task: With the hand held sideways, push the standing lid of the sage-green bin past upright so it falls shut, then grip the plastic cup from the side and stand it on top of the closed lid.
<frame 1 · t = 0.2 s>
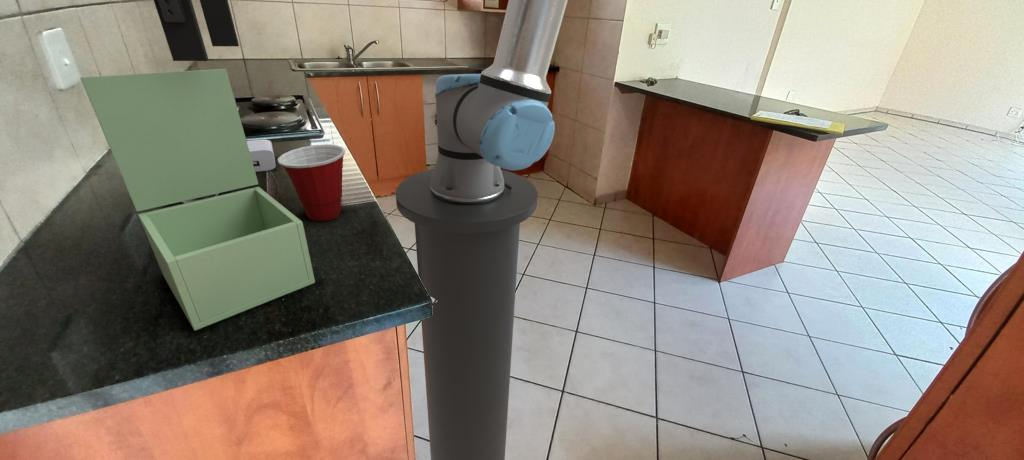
hand: (210, 52, 47), 30 cm above the counter, tool pointing down, fingers open, 13 cm apart
bin lid: (182, 138, 56), point 18 cm above the counter, hinge at 95.0°
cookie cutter: (204, 133, 119), on the counter
ceramic mug: (197, 200, 82), on the counter
bin: (239, 279, 60), on the counter
charger: (253, 162, 101), on the counter
plastic cup: (323, 215, 79), on the counter
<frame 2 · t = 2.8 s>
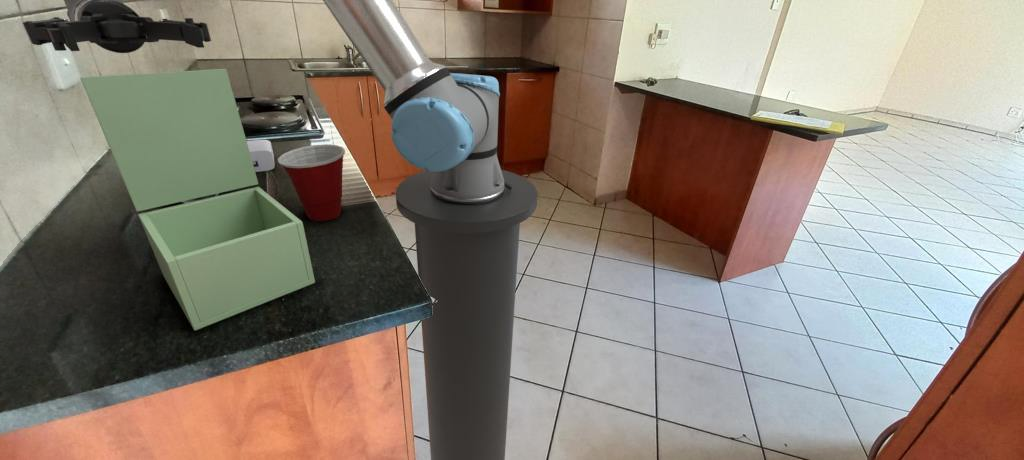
hand: (139, 37, 55), 30 cm above the counter, tool horizontal, fingers open, 12 cm apart
nothing on the counter moved.
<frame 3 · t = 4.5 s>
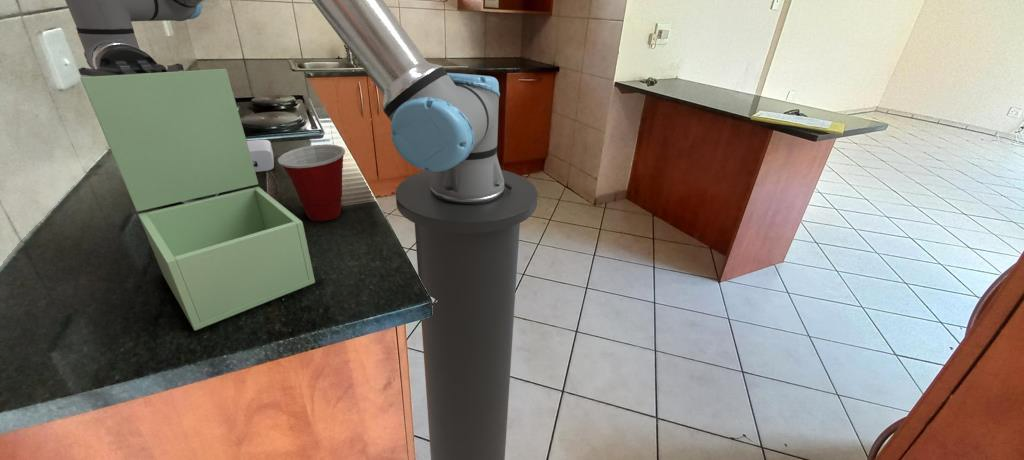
hand: (160, 92, 57), 24 cm above the counter, tool horizontal, fingers closed
nothing on the counter moved.
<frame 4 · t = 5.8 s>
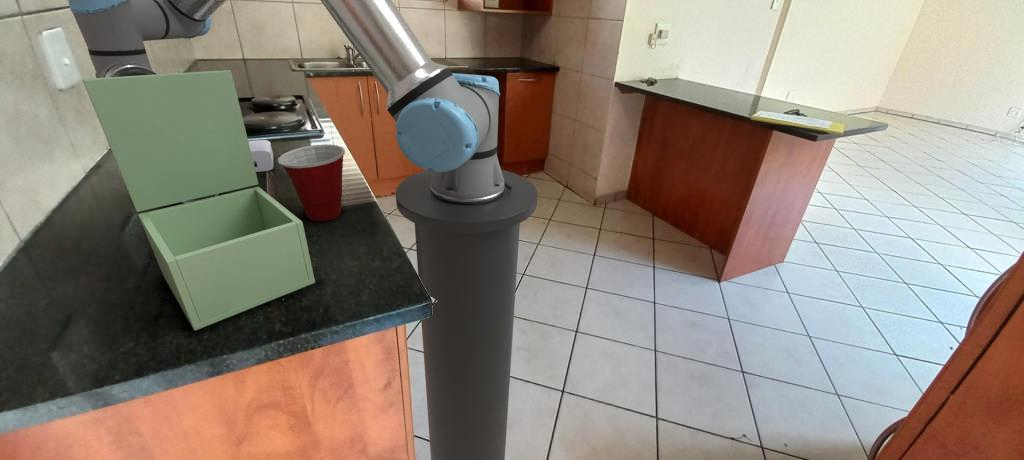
hand: (176, 120, 55), 21 cm above the counter, tool horizontal, fingers closed
bin lid: (183, 139, 56), point 18 cm above the counter, hinge at 88.0°, touching gripper
everything else where it was.
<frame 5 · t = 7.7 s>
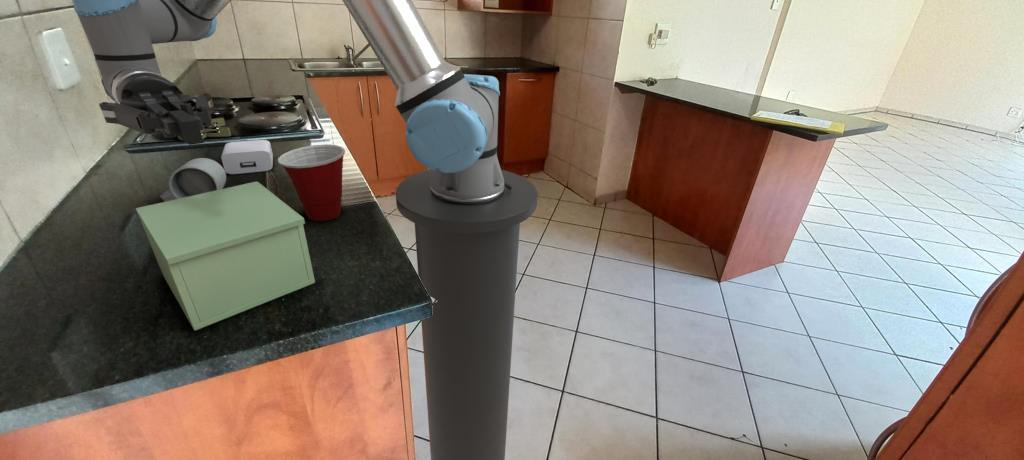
hand: (193, 132, 50), 21 cm above the counter, tool horizontal, fingers closed
bin lid: (220, 215, 55), point 10 cm above the counter, hinge at -0.1°
everything else where it was.
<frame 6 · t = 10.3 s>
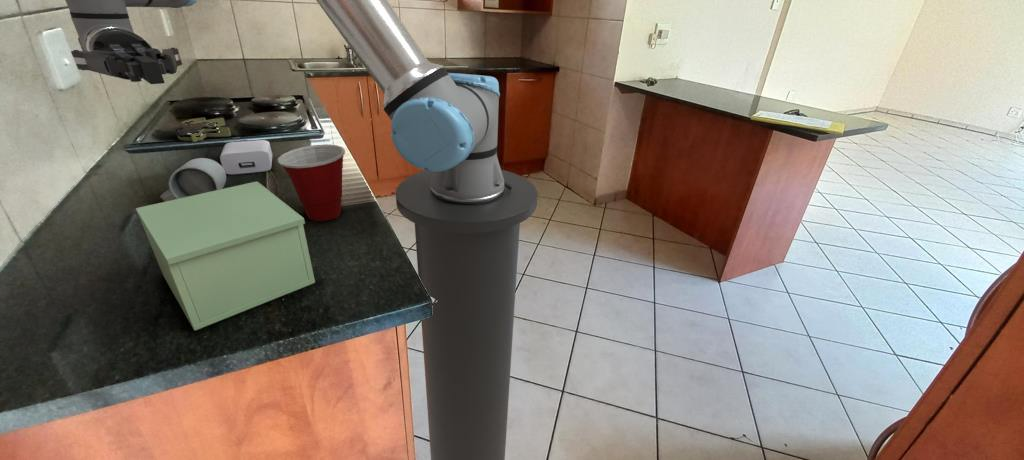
hand: (154, 73, 55), 26 cm above the counter, tool horizontal, fingers closed
nothing on the counter moved.
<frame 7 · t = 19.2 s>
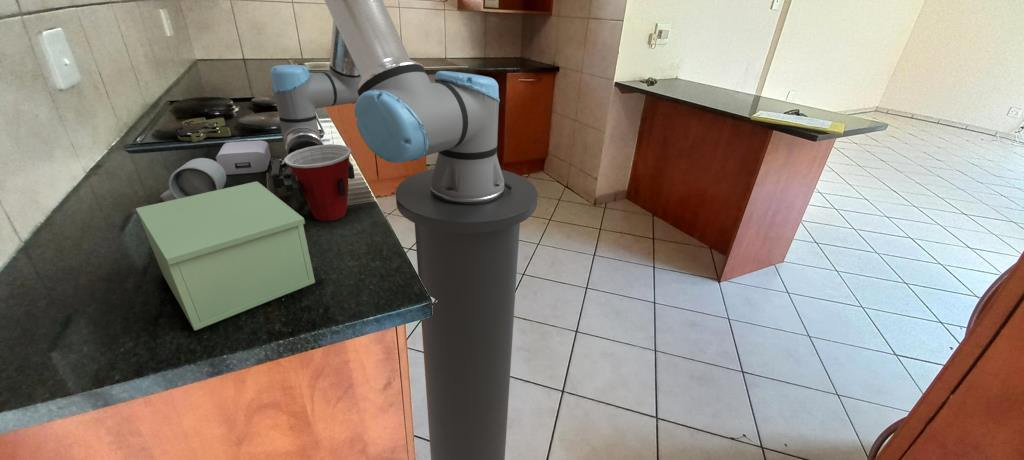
hand: (320, 191, 72), 7 cm above the counter, tool horizontal, fingers closed on plastic cup, 6 cm apart
plastic cup: (328, 215, 79), on the counter, touching gripper
everything else where it was.
when the fingers open (17 cm above the counter, at t = 27.2 s): plastic cup stays where it is, resting on bin lid.
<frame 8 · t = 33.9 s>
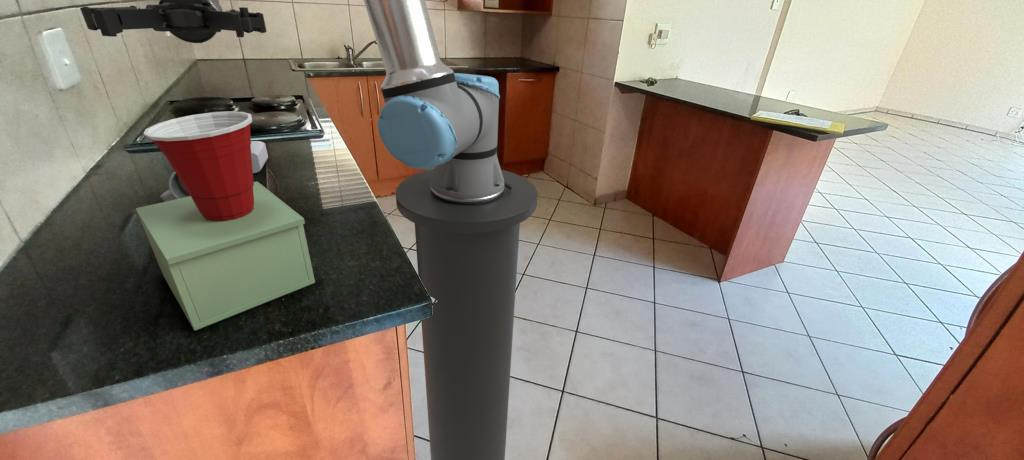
hand: (173, 24, 52), 32 cm above the counter, tool horizontal, fingers open, 13 cm apart
bin lid: (220, 216, 55), point 10 cm above the counter, hinge at -0.2°, touching bin, plastic cup
plastic cup: (227, 213, 55), point 10 cm above the counter, touching bin lid
at the end: bin lid at +0° (first picture: +95°); plastic cup inside the target area on the bin (1.0 cm from its centre), point 10.4 cm above the bin's base; plastic cup tilted 0° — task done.
